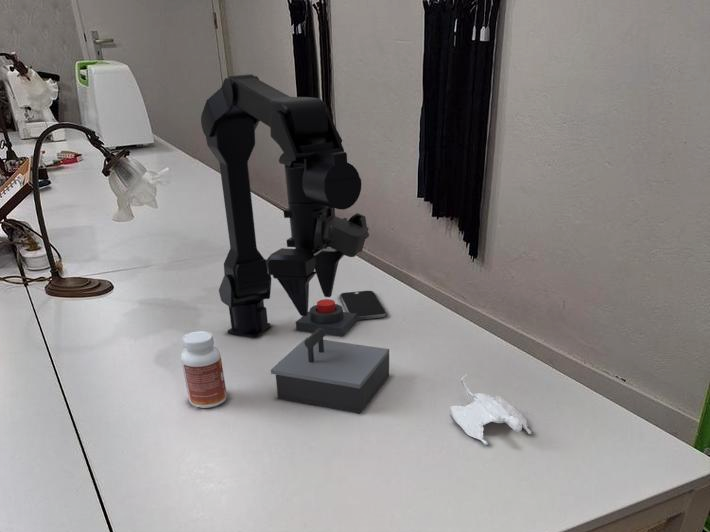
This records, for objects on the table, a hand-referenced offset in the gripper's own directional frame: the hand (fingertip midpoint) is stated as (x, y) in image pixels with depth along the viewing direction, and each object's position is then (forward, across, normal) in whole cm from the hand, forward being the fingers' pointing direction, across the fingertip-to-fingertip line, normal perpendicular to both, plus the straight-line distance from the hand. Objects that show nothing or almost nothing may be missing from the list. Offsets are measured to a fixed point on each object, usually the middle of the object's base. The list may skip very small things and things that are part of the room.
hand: (316, 305), depth 103 cm
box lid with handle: (+9, 0, -2) cm, 10 cm away
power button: (+10, +24, +9) cm, 27 cm away
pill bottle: (+14, -11, +16) cm, 24 cm away
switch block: (+13, +24, +10) cm, 29 cm away
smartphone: (+12, +36, +6) cm, 39 cm away
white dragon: (+15, -2, -28) cm, 32 cm away
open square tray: (+14, 0, -2) cm, 14 cm away
